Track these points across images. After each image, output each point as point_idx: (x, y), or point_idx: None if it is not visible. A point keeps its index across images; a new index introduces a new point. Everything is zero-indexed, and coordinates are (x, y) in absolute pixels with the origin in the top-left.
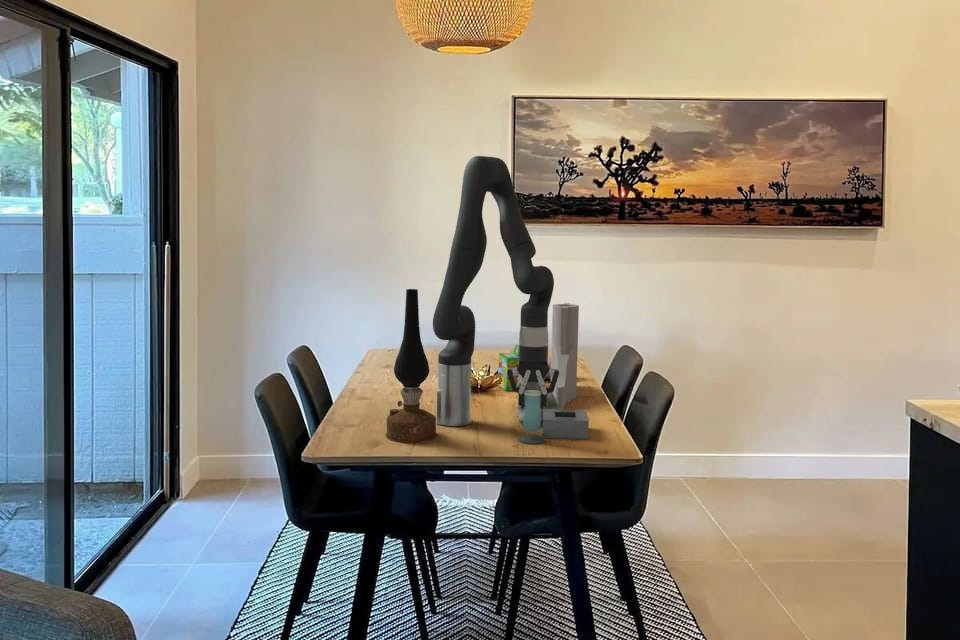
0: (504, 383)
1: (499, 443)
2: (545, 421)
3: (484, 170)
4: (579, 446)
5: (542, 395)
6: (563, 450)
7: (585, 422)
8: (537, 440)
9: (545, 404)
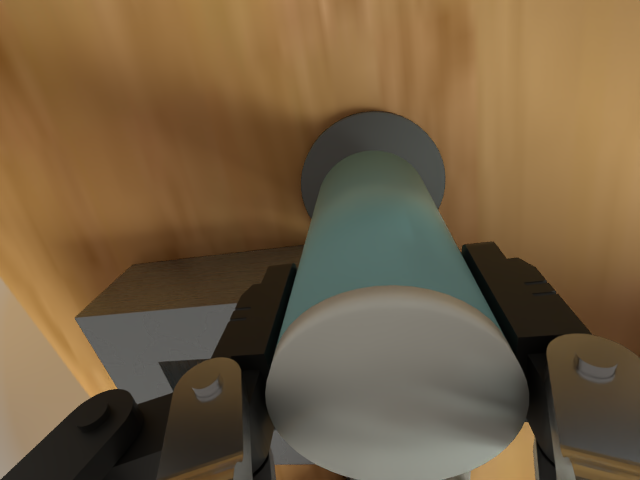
0: None
1: (556, 75)
2: None
3: None
4: (122, 143)
5: (249, 349)
6: (167, 36)
7: (95, 310)
8: (333, 154)
9: (249, 295)
